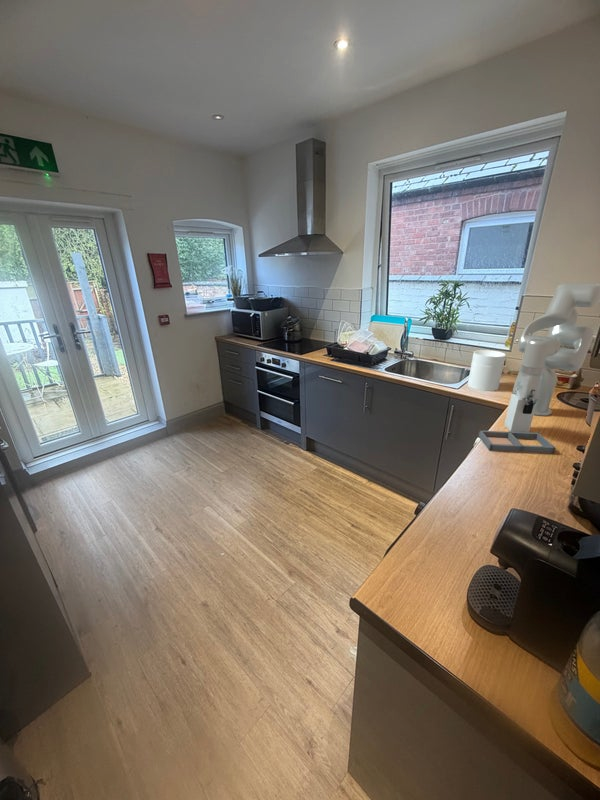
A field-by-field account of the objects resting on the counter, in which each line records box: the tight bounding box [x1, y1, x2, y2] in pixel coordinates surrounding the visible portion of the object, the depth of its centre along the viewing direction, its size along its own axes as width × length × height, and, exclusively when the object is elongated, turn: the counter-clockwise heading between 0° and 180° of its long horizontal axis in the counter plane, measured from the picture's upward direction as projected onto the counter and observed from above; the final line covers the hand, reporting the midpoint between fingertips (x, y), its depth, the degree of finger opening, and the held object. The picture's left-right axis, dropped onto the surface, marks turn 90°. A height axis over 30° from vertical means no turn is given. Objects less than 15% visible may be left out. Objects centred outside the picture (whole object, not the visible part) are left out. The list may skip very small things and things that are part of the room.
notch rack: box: [477, 430, 557, 455], centre depth 130 cm, size 12×23×2 cm, turn 82°
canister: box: [467, 349, 507, 392], centre depth 188 cm, size 16×16×20 cm
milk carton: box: [504, 388, 538, 433], centre depth 138 cm, size 7×7×19 cm
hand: (520, 409), depth 138 cm, fingers open, 9 cm apart
